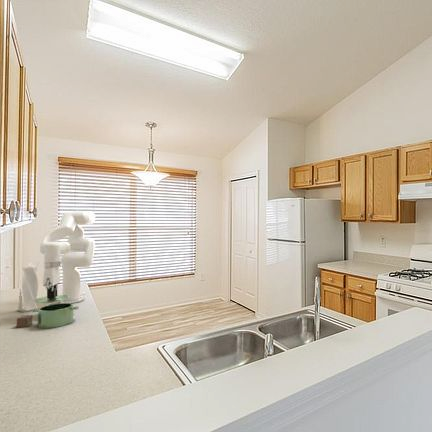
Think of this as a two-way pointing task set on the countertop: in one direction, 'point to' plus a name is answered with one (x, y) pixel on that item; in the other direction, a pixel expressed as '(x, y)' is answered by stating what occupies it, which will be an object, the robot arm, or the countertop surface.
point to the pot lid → (51, 300)
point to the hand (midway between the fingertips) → (52, 297)
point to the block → (24, 321)
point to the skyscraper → (29, 288)
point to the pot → (55, 315)
